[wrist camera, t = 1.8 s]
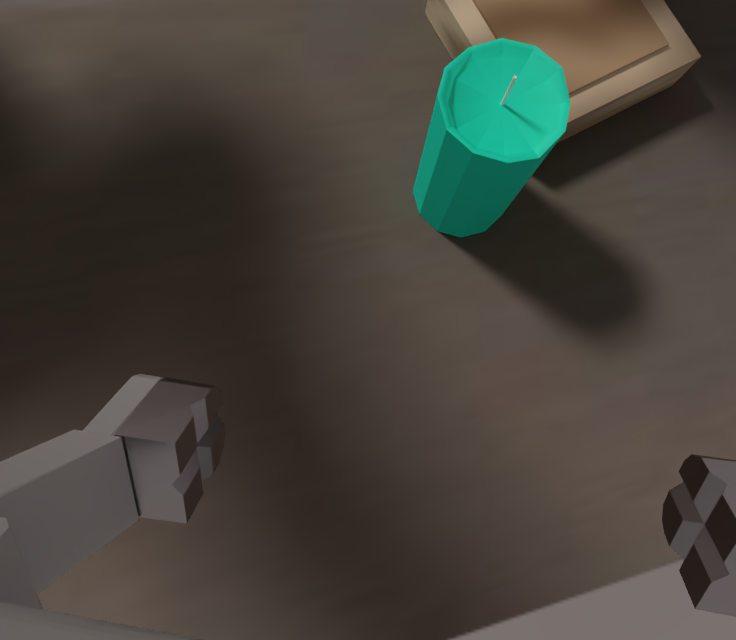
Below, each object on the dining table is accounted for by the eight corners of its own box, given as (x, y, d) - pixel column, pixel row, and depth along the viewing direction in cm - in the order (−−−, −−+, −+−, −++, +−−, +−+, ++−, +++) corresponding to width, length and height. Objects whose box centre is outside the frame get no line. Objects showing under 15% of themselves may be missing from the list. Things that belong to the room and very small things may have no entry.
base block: (425, 13, 36) (431, -26, 32) (578, -58, 37) (599, -102, 33) (514, 164, 34) (531, 139, 31) (672, 85, 35) (704, 53, 32)
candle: (413, 237, 33) (443, 144, 21) (412, 146, 34) (440, 9, 22) (509, 237, 33) (592, 146, 21) (505, 147, 34) (583, 12, 22)
